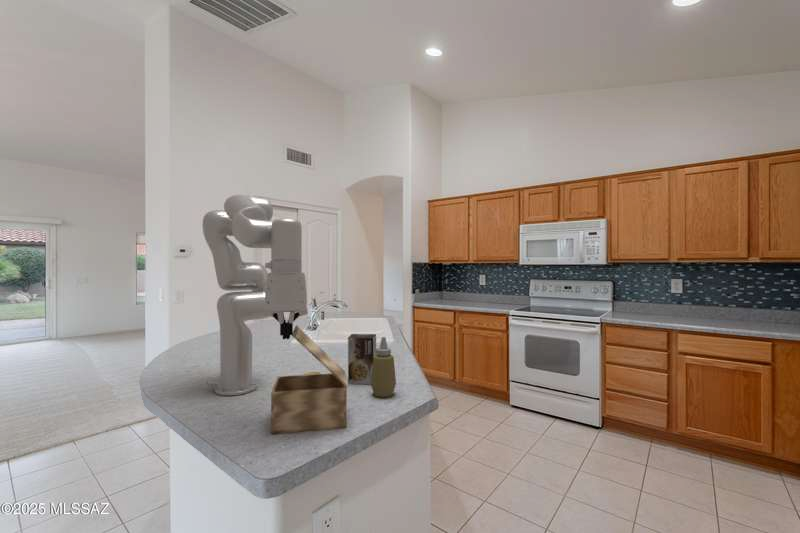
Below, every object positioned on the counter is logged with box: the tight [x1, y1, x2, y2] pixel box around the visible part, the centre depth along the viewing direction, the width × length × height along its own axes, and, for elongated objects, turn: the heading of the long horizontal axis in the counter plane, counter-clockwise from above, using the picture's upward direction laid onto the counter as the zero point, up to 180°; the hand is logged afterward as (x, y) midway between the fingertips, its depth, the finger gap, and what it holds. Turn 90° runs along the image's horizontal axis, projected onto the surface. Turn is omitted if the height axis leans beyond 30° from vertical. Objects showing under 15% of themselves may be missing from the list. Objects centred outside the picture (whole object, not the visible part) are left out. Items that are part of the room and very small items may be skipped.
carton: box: [270, 372, 348, 435], centre depth 97 cm, size 18×13×10 cm
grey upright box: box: [347, 333, 377, 385], centre depth 128 cm, size 9×6×16 cm
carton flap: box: [291, 324, 349, 388], centre depth 97 cm, size 19×13×1 cm
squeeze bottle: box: [370, 336, 397, 398], centre depth 115 cm, size 8×8×18 cm
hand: (286, 338), depth 95 cm, fingers closed
